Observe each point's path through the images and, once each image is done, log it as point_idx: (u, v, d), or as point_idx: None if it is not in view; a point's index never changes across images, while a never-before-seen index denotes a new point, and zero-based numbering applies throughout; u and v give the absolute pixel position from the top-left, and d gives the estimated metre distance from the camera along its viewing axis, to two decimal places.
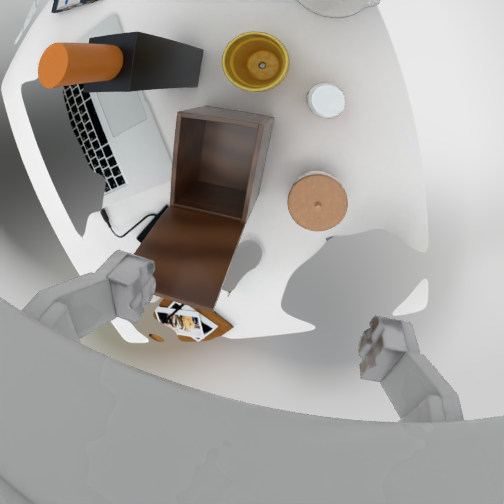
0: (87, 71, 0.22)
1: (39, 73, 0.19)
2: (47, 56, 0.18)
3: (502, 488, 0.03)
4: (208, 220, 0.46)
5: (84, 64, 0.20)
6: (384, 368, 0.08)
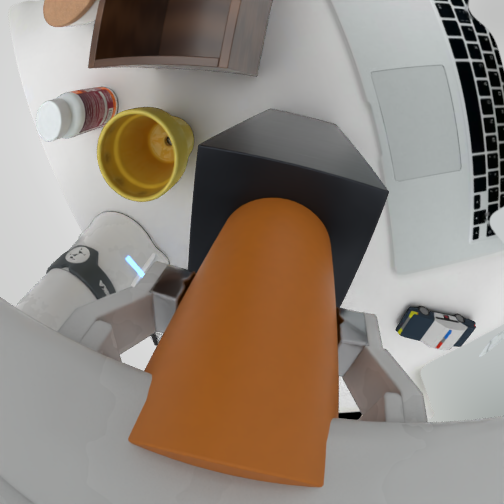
0: (170, 322, 0.07)
1: None
2: None
3: (502, 488, 0.03)
4: None
5: None
6: (344, 362, 0.08)
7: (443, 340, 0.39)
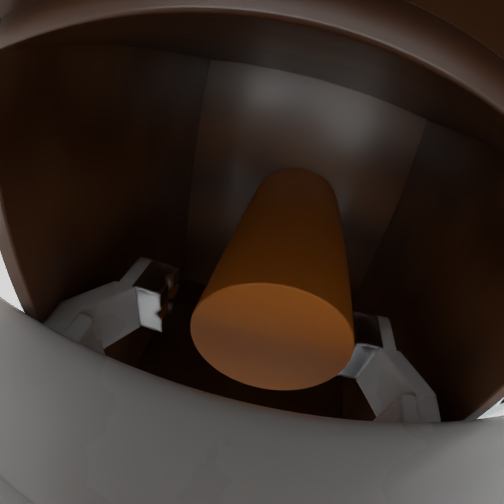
0: (232, 237, 0.11)
1: (344, 352, 0.08)
2: (289, 374, 0.09)
3: (502, 488, 0.03)
4: None
5: None
6: (358, 365, 0.08)
7: None
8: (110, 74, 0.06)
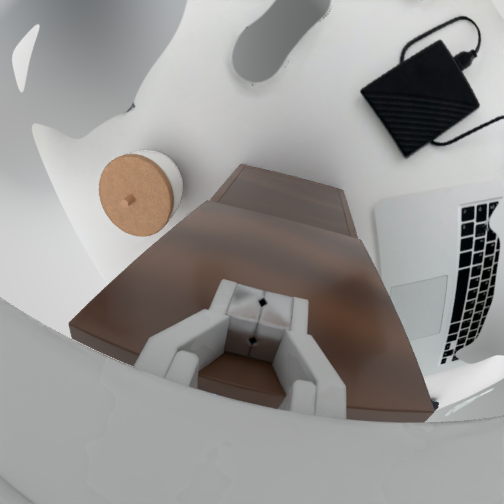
0: None
1: None
2: None
3: (502, 488, 0.03)
4: None
5: None
6: (269, 347, 0.09)
7: None
8: None
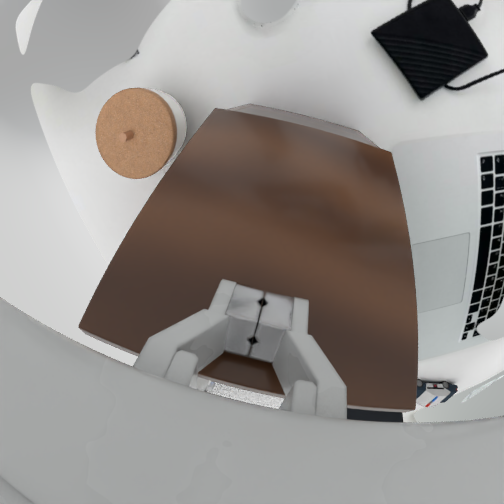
0: None
1: None
2: None
3: (502, 488, 0.03)
4: None
5: None
6: (269, 347, 0.09)
7: (431, 402, 0.49)
8: None
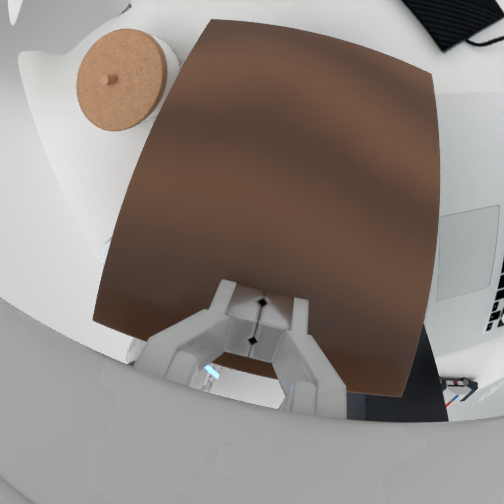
0: None
1: None
2: None
3: (502, 488, 0.03)
4: None
5: None
6: (269, 347, 0.09)
7: (451, 401, 0.43)
8: None
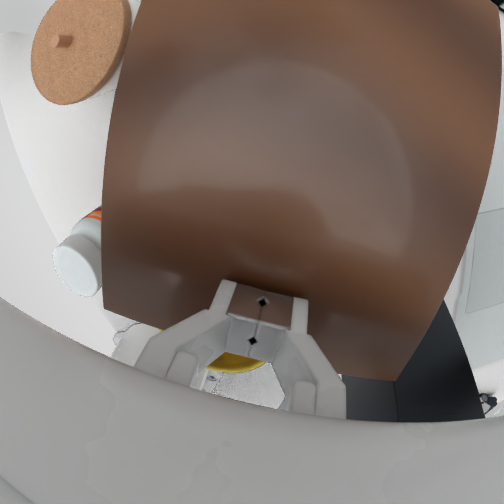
0: None
1: None
2: None
3: (502, 488, 0.03)
4: None
5: None
6: (269, 347, 0.09)
7: None
8: None
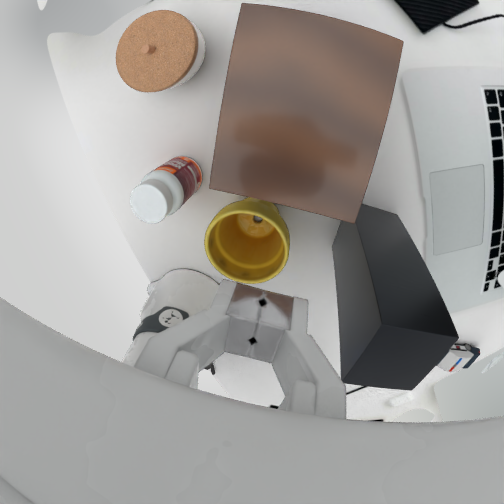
0: None
1: None
2: None
3: (502, 488, 0.03)
4: None
5: None
6: (269, 347, 0.09)
7: (455, 365, 0.46)
8: None
